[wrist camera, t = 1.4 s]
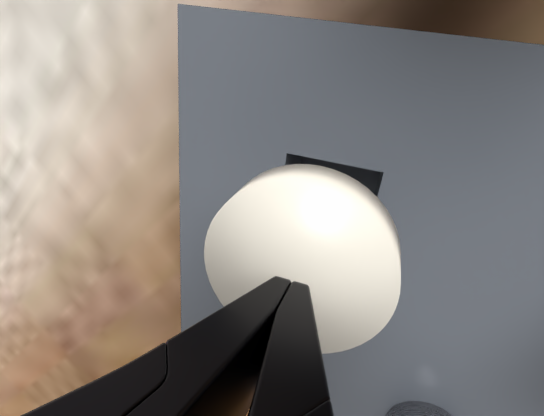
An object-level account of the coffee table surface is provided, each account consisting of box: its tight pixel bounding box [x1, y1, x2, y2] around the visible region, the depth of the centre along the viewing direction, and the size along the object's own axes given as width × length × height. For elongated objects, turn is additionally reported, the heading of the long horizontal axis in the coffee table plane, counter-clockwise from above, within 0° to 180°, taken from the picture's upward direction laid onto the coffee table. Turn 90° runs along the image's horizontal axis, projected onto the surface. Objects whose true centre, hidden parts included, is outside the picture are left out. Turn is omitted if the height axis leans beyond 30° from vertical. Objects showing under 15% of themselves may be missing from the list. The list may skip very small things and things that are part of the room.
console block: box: [178, 4, 544, 416], centre depth 16 cm, size 24×18×5 cm
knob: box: [204, 164, 401, 354], centre depth 11 cm, size 5×5×4 cm
